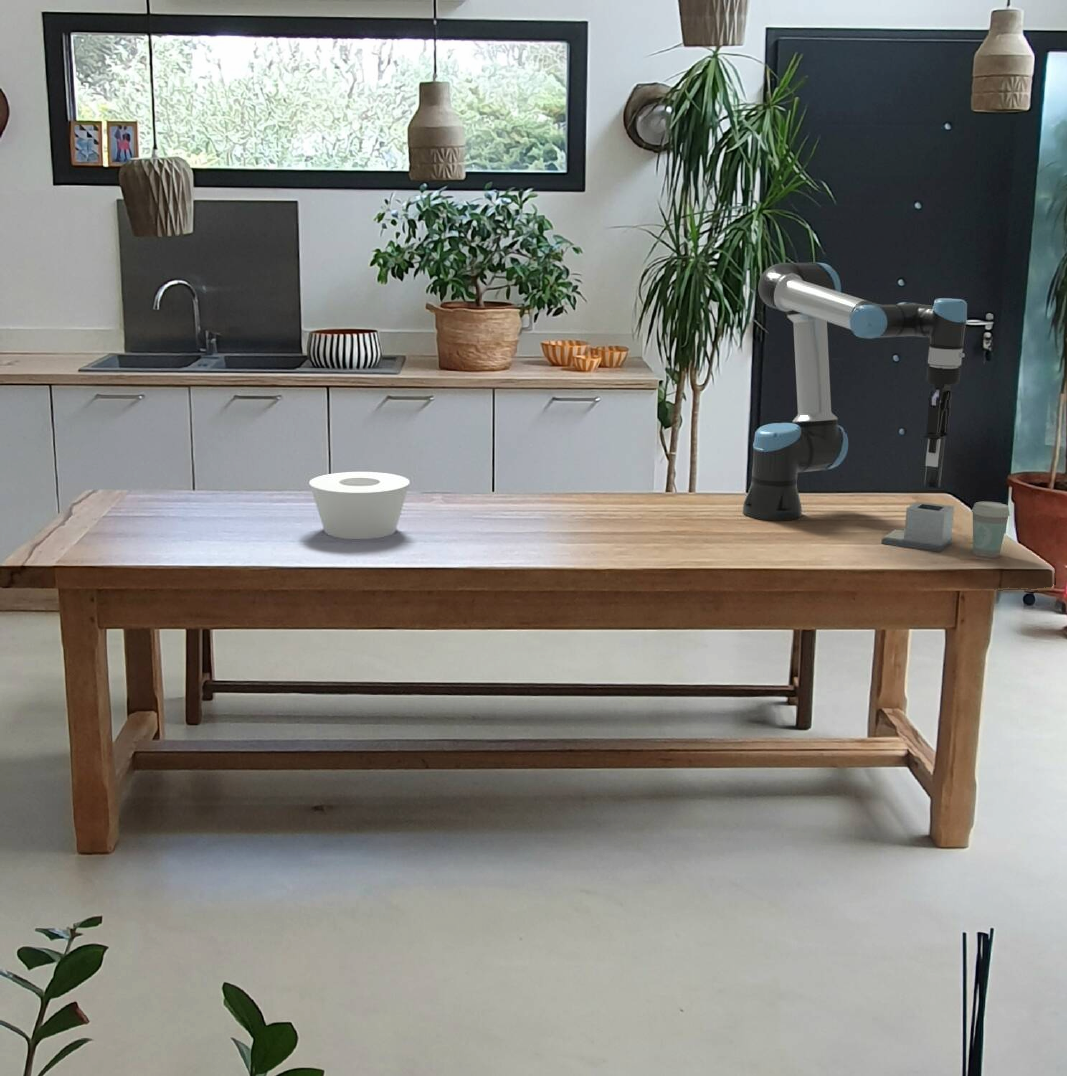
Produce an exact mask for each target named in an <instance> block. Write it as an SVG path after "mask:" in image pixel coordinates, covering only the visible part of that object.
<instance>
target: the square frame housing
mask: <svg viewBox="0 0 1067 1076" xmlns="http://www.w3.org/2000/svg"><path fill="white" fill-rule="evenodd" d="M905 510H906V513H905V521H904V523H905V524H904V530H903V529H902V530H901V529H894V530H892V531H891V532H889V533H888V534H887V535H885V536H884V537H882V538H881V544H883V545H889V546H895V547H902V548H908V549H916V550H921V551H922V550H923V551H930V552H935V553H941V552H942V551H944V550H945V549H946V548H947V547H948V546H950V544H952V541H953V537H952V535H953V533H952V532H953V523H954V513H955V506H954V505H953V506H952V505H945V504H938V503H929V502H922V501H916V502H914V503H913V504H911V505H909V506H908V507H906V509H905Z"/></svg>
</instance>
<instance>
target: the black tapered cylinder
mask: <svg viewBox="0 0 1067 1076" xmlns="http://www.w3.org/2000/svg"><path fill="white" fill-rule="evenodd" d="M939 439H941V440H940V449H939V458H938V467H933V466H925V474H924V475H925V476H924V487H927V488H940V487H941V478H942V471H943V462H944V453H945V452H944V451H945V444H946V436H942V435H940V438H939Z"/></svg>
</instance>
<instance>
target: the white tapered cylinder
mask: <svg viewBox="0 0 1067 1076" xmlns="http://www.w3.org/2000/svg"><path fill="white" fill-rule="evenodd" d="M410 483H411V482H410V479H408V478H407V477H404V476H402V475H398V474H394V473H388V472H387V473H386V472H378V471H377V472H375V471H347V472H345V471H344V472H335V473H328V474H324V475H323V474H322V475H319V476H316V477H314V478H312V479H310V480H309V483H308V484H309V487H310V490H311V493H312V495H313V499H314V502H315V505H316V508H317V512H318V515H319V518H320V521H321V525H322V528H323V530H324V533H326V535H329V536H331V537H334V538H338V539H339V538H340V539H347V540H348V539H349V540H369V539H378V538H384V537H388V536H390V535H392V534H394V533H395V532H396V530H397V527H398V524H399V520H400V517H401V514H402V510H403V506H404V503H405V499H406V496H407V492H408V490H409V486H410Z"/></svg>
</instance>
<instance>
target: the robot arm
mask: <svg viewBox="0 0 1067 1076" xmlns="http://www.w3.org/2000/svg"><path fill="white" fill-rule="evenodd" d="M841 286H842V285H841V281H840V277H839V275H838V274H837V271H836V270H835V269H833V268H832V266H830V265H829V264H827V263H824V262H816V261H812V262H811V261H810V262H808V261H807V262H779V263H775V264H772V265H771V266H769V267H768V268H766V269H765V270H764V271H763V272H762V274H761V276H760V278H759V281H758V287H757V288H758V290H757V291H758V294H759V298H760V299H761V301H762V302H763V303H764V304H765V305H766V306H768V307H770V308H773V309H776V310H779V311H780V312H781V311H782V312H786V317H787V318H788V319H789V320H790V321H791V322H792V323H793V324H792V326H793V341H794V360H795V378H796V379H795V381H796V382H795V383H796V397H797V398H796V399H797V400H796V402H797V415H796V416H795V417H794V419H793V420H792V422H780V423H778V422H776V423H775V422H774V423H773V422H772V423H768V424H765V425H762V426H760V427H759V428H757V429H756V431H755V432H754V439H753V442H752V443H753V444H752V448H753V449H752V450H753V452H752V469H751V484H750V486H749V489H748V492H747V493H746V497H745V499H744V502H743V505H742V513H743V514H744V515H745V516H747V517H750V518H753V519H758V520H767V521H792V520H797V519H800V518H801V517H802V513H803V512H802V511H803V507H802V502H801V499H800V496H799V495H800V494H799V491H798V473H807V472H817V471H819V472H820V471H821V472H822V471H826V470H831V469H834V468H836V467H838V466H839V465H841V463H842V462H843V461H844V459H845V458H846V456H847V453H848V449H849V437H848V435H847V432H845V429H844V428H843V426H840V425H839V424H838V421H839V419H838V417H837V416H836V415H835V414H833V412H832V402H831V383H830V380H831V379H830V364H829V363H830V361H829V359H830V358H829V341H828V340H829V339H828V323H830V324H833V325H836V326H839V327H842V328H844V329H848V330H850V331H851V332H852V333H853V334H854V336H856V337H857V338H861V339H869V340H870V339H871V340H873V339H877V338H878V339H881V338H897V337H918V338H919V337H921V338H926V339H927V338H928V339H929V348H928V357H927V364H929V365H928V366H927V369H926V375H925V377H926V378H925V381H926V382H927V383H930V384H934V385H933V390H931V392H930V395H929V396H928V411H927V418H926V419H927V421H926V433H925V435H924V439H927V447H926V457H925V467H926V466H933V467H938V458H939V449H940V440H941V439H939V438H940V435H942V436H945V437H949V436H950V433H949V432H948V431H949V426H950V417H951V408H952V400H953V398H954V397H953V396H954V390H951V386H952V385H953V386H954V385H958V384H959V383H960V379H961V371H962V369H961V367H960V366H962V360H963V359H962V358H965V356H966V355H965V354H966V353H963V350H964V339H965V333H966V326H967V321H968V316H967V315H968V303H967V301H965V300H964V299H960V298H950V297H948V298H946V297H945V298H944V297H943V298H942V297H941V298H936V299H935V300H934V303H933V305H928V304H920V303H916V302H905V301H904V302H903V301H902V302H899V303H897V304H879V303H875V302H872V301H869V300H865V299H862V298H859V297H856V296H853V295H851V294H847V293H844V292H842V287H841Z"/></svg>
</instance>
